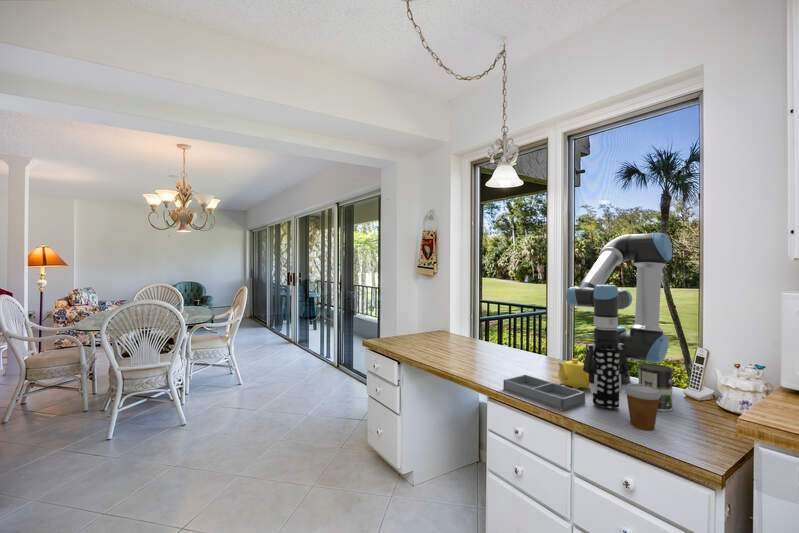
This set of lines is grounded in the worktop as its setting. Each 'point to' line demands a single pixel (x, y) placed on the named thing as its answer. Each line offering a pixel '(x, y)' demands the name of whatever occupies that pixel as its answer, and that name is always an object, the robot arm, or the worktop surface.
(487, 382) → the worktop surface
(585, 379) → the teapot
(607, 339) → the robot arm
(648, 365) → the coffee can
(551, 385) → the gray divided tray
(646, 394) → the disposable coffee cup
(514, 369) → the worktop surface
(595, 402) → the white-spotted black cylinder
